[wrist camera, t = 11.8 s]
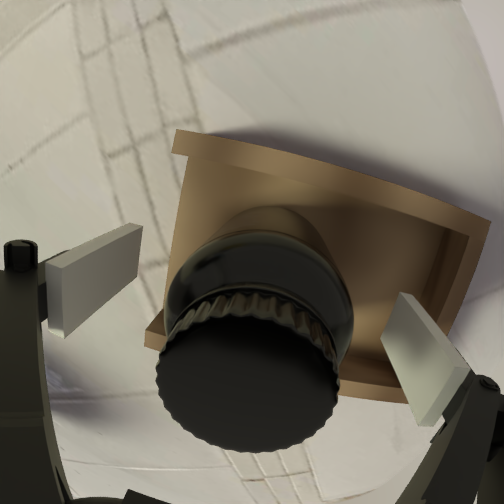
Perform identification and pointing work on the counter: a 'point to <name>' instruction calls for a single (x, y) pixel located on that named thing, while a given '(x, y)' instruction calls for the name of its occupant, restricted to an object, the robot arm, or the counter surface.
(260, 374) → the supplement bottle
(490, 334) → the counter surface
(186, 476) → the counter surface
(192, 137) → the u rest
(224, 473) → the counter surface
